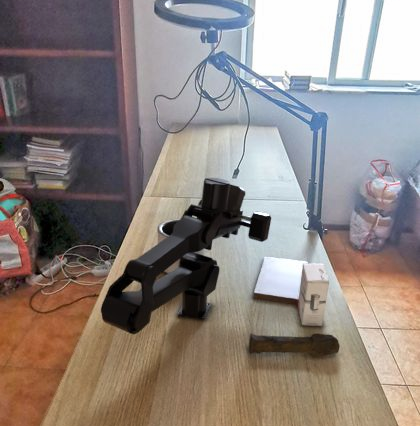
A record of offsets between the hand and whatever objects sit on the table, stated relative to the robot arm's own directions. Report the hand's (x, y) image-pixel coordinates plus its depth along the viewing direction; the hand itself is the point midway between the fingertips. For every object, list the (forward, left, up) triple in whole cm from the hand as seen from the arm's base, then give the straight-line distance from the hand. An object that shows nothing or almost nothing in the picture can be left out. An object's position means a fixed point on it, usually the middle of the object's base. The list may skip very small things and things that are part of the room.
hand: (248, 214), depth 124 cm
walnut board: (-4, -11, -16) cm, 19 cm away
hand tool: (-32, -16, -16) cm, 40 cm away
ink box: (-18, -19, -16) cm, 31 cm away
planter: (-3, +17, -16) cm, 23 cm away
